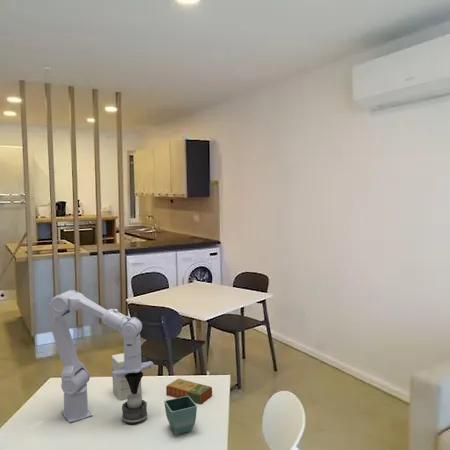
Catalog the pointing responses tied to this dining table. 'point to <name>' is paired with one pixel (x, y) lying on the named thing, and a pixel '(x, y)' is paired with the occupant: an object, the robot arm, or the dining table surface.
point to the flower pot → (181, 414)
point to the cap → (134, 401)
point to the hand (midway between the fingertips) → (134, 392)
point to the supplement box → (121, 379)
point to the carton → (189, 390)
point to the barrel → (134, 414)
